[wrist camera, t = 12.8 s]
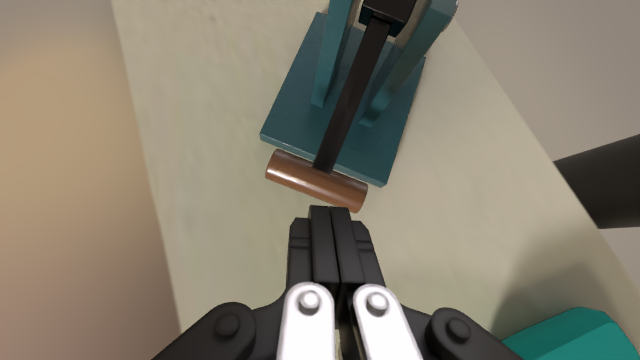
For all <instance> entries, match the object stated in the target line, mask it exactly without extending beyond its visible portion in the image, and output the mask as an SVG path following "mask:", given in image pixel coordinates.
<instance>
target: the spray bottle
mask: <svg viewBox="0 0 640 360" xmlns="http://www.w3.org/2000/svg"><path fill="white" fill-rule="evenodd" d="M501 342H502V343H503V344H505V345H506V346H507V347H509V348H510V349H511V350H513V351H514V352H515V353H516V354H518V355H519V356H520V357H522V358H523V359H524V360H640V356H639V354H638V352H637V350H636V348H635V347H634V346H633V344H632V343H631V342H630V340H629V339H628V338H627V336H626V335H625V334H624V333H623V331H622V330H621V329H620V327H619V326H618V325H617V323H616V322H615V321H613V320H612V319H611V318H610V317H609V316H608V315H607V314H605V313H604V312H602V311H598V310H593V309H588V308H584V307H577V308H573V309H570V310H568V311H566V312H563V313H561V314H559V315H556V316H554V317H552V318H550V319H547V320H545V321H543V322H540V323H538V324H536V325H533V326H531V327H529V328H526V329H524V330H522V331H520V332H517V333H516V334H514V335H512V336H510V337H508V338H506V339H505V340H503V341H501Z"/></svg>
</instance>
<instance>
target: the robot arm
mask: <svg viewBox="0 0 640 360" xmlns="http://www.w3.org/2000/svg"><path fill="white" fill-rule="evenodd" d="M335 329H339V333H340V345H339V348H338V357H339V360H524V359H523V358H522V357H520V356H519V355H518V354H516V353H515V352H514V351H513V350H511V349H510V348H509V347H507V346H506V345H505V344H503V343H502V342H501V341H499V340H498V339H497V338H496V337H494V336H493V335H492V334H490V333H489V332H488V331H486V330H485V329H484V328H483V327H481V326H480V325H479V324H477V323H476V322H475V321H473V320H472V319H471V318H470V317H468V316H467V315H465V314H464V313H462V312H460V311H458V310H456V309H452V308H439V309H437V310H436V311H435V312H434V313H433V315H429V314H426V313H423V312H420V311H416V310H413V309H411V308H408V307H406V306H404V305H402V304H401V303H399V301H398V299H397V297H396V296H395V295H394V294H393V293H392V292H391V291H390V290H388V289H387V288H386V285H385V282H384V279H383V276H382V273H381V269H380V266H379V263H378V260H377V256H376V253H375V252H374V247H373V243H372V240H371V237H370V234H369V230H368V229H367V228H366V227H365V226H364V225H363V223H362V222H361V221H351V217H350V212H349V209H348V207H333V206H329V207H328V206H316V205H310V206H309V213H308V218H297V217H296V218H295V219H294V221H293V222H292V224H291V225H290V231H289V243H288V255H287V274H286V289H285V291H284V293H283V294H282V296H281V297H280V298H279V299H278V300H276V301H275V302H273V303H271V304H269V305H267V306H264V307H260V308H257V309H254V310H251V309H250V308H249V307H248V306H246V305H244V304H242V303H238V302H228V303H223V304H221V305H218V306H216V307H214V308H213V309H212V310H210V311H209V312H208V313H207V314H205V315H204V316H203V317H202V318H201V319H199V320H198V321H197V322H196V323H195V324H193V325H192V326H191V327H190V328H189V329H187V330H186V331H185V332H184V333H183V334H181V335H180V336H179V337H178V338H177V339H175V340H174V341H173V342H172V343H171V344H169V345H168V346H167V347H166V348H165V349H164V350H162V351H161V352H160V353H159V354H157V355H156V356H155V357H154V358H153V359H151V360H336V348H335Z"/></svg>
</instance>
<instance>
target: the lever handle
mask: <svg viewBox="0 0 640 360" xmlns="http://www.w3.org/2000/svg"><path fill="white" fill-rule="evenodd" d="M416 2H417V0H364V1H363V4H362V7H361V11H360V15H359V20H358V22H359V23H361V24H363V25H366V26H367V27H366V30H365V32H364V35H363V38H362V40H361V43H360V45H359V48H358V50H357V53H356V55H355V58H354V61H353V63H352V66H351V68H350V71H349V73H348V76H347V78H346V81H345V83H344V86H343V89H342V91H341V94H340V96H339V99H338V101H337V104H336V106H335V109H334V111H333V114H332V117H331V119H330V122H329V124H328V127H327V129H326V132H325V134H324V137H323V140H322V142H321V145H320V147H319V150H318V152H317V155H316V157H315V160H314V162H310V161H308V160H305V159H303V158H300V157H298V156H295V155H293V154H290V153H288V152H285V151H283V150H280V149H276V150H275V151H274V153H273V155H272V157H271V159H270V161H269V163H268V166H267V169H266V173H265V178H266V179H269V180H271V181H274V182H276V183H279V184H281V185H284V186H287V187H289V188H292V189H294V190H297V191H299V192H302V193H304V194H307V195H309V196H312V197H315V198H317V199H320V200H322V201H325V202H327V203H330V204H332V205H335V206H338V207H348V209H349V211H350V212H353V213H357V212H358V211H359V210H360V209H361V207H362V205H363V203H364V200H365V198H366V195H367V190H368V185H367V184H366V183H363V182H361V181H358V180H356V179H353V178H351V177H348V176H346V175H343V174H341V173H338V172H336V171H333V167H334V165H335V162H336V160H337V158H338V155H339V153H340V150H341V148H342V146H343V143H344V141H345V138H346V136H347V133H348V131H349V129H350V126H351V124H352V121H353V119H354V116H355V114H356V112H357V109H358V107H359V104H360V102H361V100H362V97H363V95H364V92H365V90H366V87H367V85H368V83H369V80H370V78H371V75H372V73H373V70H374V68H375V66H376V63H377V61H378V58H379V56H380V54H381V51H382V49H383V46H384V44H385V41H386V39H387V37H388V35H390V36H392V37H394V38H396V37H397V36H398V34H399V33H400V32H401V31H402V29H403V28H404V27H405V25H406V24H407V23H408V20H409V18H410V16H411V13H412V11H413V9H414V6H415V4H416Z"/></svg>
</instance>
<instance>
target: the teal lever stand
mask: <svg viewBox="0 0 640 360" xmlns="http://www.w3.org/2000/svg"><path fill="white" fill-rule="evenodd" d="M360 1H361V0H330V2H329V8H328V13H327V15H324V14H322V13H320V12H317V13H316V15H315V17H314V19H313V21H312V23H311V25H310V27H309V30H308V32H307V34H306V36H305V38H304V40H303V42H302V44H301V47H300V49H299V51H298V53H297V55H296V57H295V59H294V61H293V64H292V66H291V68H290V70H289V72H288V74H287V76H286V78H285V81H284V83H283V85H282V87H281V89H280V91H279V93H278V95H277V98H276V100H275V102H274V104H273V106H272V108H271V110H270V112H269V115H268V117H267V119H266V121H265V123H264V125H263V127H262V129H261V132H260V138H261V140H262V141H265V142H267V143H270V144H272V145H275V146H277V147H280V148H282V149H285V150H287V151H290V152H292V153H295V154H298V155H300V156H303V157H305V158H308V159H310V160H313V161H314V160H315V157H316V155H317V152H318V150H319V147H320V145H321V142H322V140H323V137H324V134H325V132H326V129H327V127H328V124H329V122H330V119H331V117H332V114H333V111H334V109H335V106H336V104H337V101H338V99H339V96H340V94H341V91H342V89H343V86H344V83H345V81H346V78H347V76H348V73H349V71H350V68H351V66H352V63H353V61H354V58H355V55H356V53H357V50H358V48H359V45H360V43H361V40H362V38H363V35H364V32H365V31H363V30H360V29H358V28H356V27H353V23H354V20H355V17H356V14H357V10H358V7H359V4H360ZM457 7H458V1H457V0H417V2H416V4H415V6H414V9H413V11H412V13H411V16H410V18H409V20H408V23H407V24H406V25H405V27H404V28H403V29H402V31H401V32H400V33H399V35H398V37H397V39H396V40H395V42H394V43H391V42H389V41H387V40H386V41H385V44H384V46H383V49H382V51H381V54H380V56H379V58H378V61H377V63H376V66H375V68H374V70H373V73H372V75H371V78H370V80H369V83H368V85H367V87H366V90H365V92H364V95H363V97H362V100H361V102H360V104H359V107H358V109H357V112H356V114H355V116H354V119H353V121H352V124H351V126H350V129H349V131H348V133H347V136H346V138H345V141H344V143H343V146H342V148H341V150H340V153H339V155H338V158H337V160H336V162H335V165H334V167H333V169H335V170H338V171H340V172H343V173H345V174H348V175H350V176H353V177H355V178H358V179H360V180H363V181H365V182H368V183H371V184H373V185H376V186H378V187H383V186H385V185H386V184H387V181H388V178H389V175H390V172H391V168H392V165H393V162H394V159H395V156H396V152H397V149H398V146H399V143H400V140H401V136H402V133H403V130H404V127H405V123H406V120H407V117H408V114H409V111H410V107H411V104H412V101H413V98H414V95H415V91H416V88H417V85H418V82H419V79H420V75H421V72H422V69H423V66H424V63H425V59H426V57H425V56H424V55H425V53H426V52H427V51H428V49H429V48H430V47H431V45H432V44H433V42H434V41H435V40H436V38H437V37H438V36H439V34H440V33H441V32H443V31H444V30H445V29H446V28H447V26H448V25H449V23H450V22H451V20H452V18H453V16H454V14H455V12H456V10H457Z"/></svg>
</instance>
